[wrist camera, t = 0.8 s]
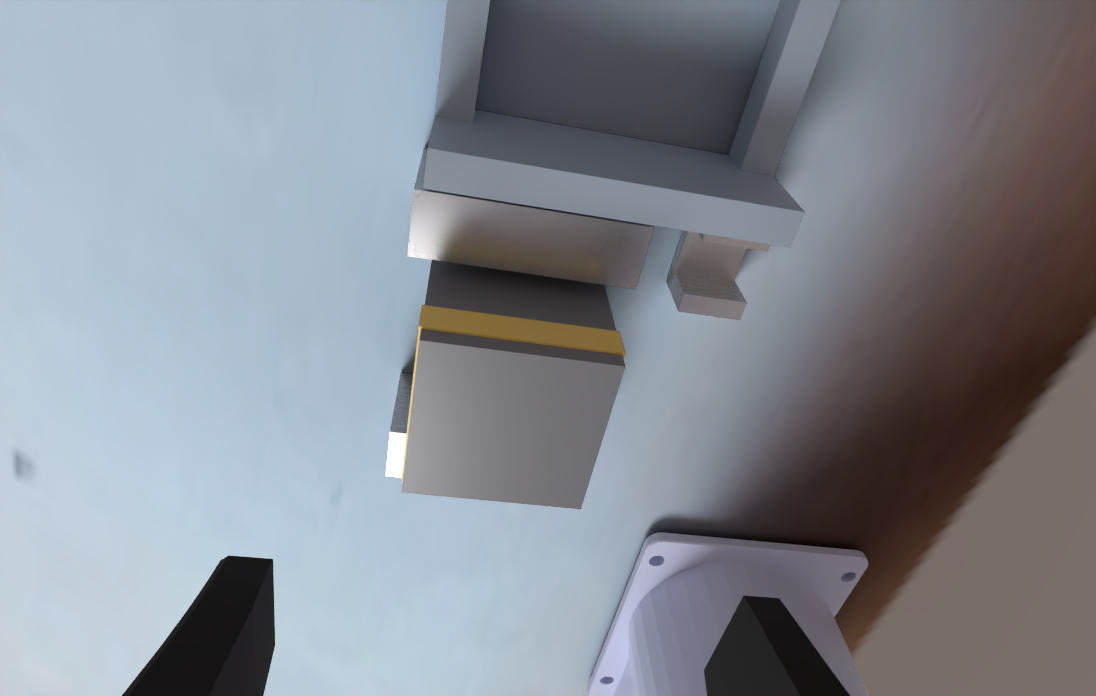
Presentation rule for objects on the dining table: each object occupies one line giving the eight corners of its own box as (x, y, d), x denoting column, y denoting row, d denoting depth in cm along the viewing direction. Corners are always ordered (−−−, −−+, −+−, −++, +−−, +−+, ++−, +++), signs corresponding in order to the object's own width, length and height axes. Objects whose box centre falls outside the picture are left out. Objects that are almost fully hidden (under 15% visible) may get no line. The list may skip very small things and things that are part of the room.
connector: (564, 379, 20) (582, 510, 16) (419, 361, 20) (399, 493, 16) (597, 249, 18) (628, 364, 14) (435, 225, 18) (417, 337, 13)
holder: (748, 192, 18) (790, 247, 15) (434, 138, 16) (423, 188, 14) (889, -190, 13) (978, -201, 11) (482, -300, 12) (479, -340, 10)
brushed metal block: (566, 433, 22) (574, 494, 19) (396, 414, 21) (385, 476, 19) (635, 183, 17) (654, 227, 15) (424, 147, 16) (413, 189, 14)
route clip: (724, 289, 19) (739, 320, 18) (665, 281, 19) (678, 311, 18) (756, 205, 18) (775, 232, 16) (693, 195, 17) (709, 220, 16)
